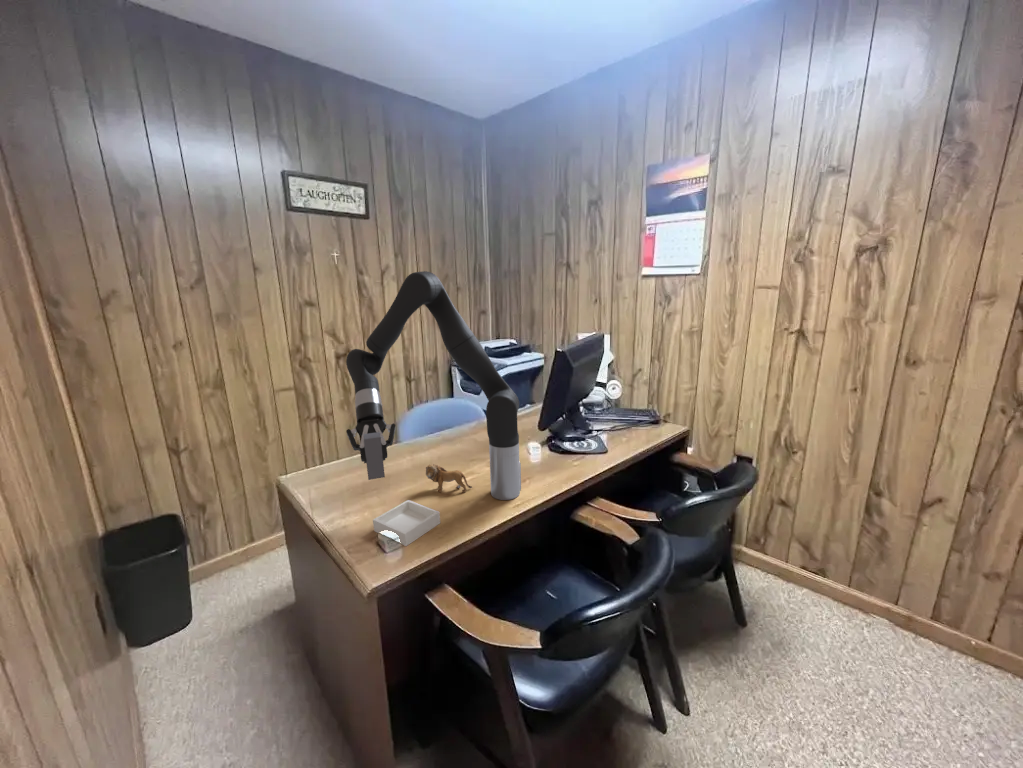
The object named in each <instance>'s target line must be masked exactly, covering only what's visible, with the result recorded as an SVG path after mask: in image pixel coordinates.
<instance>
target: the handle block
mask: <svg viewBox="0 0 1023 768" xmlns="http://www.w3.org/2000/svg"><path fill="white" fill-rule="evenodd" d="M364 446H365V455H366V461H367V462H366V463H365V464H366V471H367V480H368V481H369V480H371V481H372V480H376V479H382V478H385V477H386V476H385V467H384V466H385V465H384V461H383V457H382V445H381V436H380V432H376V433H369V434H364Z"/></svg>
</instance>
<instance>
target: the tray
mask: <svg viewBox="0 0 1023 768" xmlns="http://www.w3.org/2000/svg"><path fill="white" fill-rule="evenodd" d="M440 515H441V512H440V511H439V510H435V509H433V508H431V507H428V506H425V505H423V504H420V503H417V502H415V501H413V500H410V499H407V500H405V501H404V502H402V503H400V504H398V505H397V506H395V507H393V508H391V509H389V510H387V511H386V512H384V513H382V514H380V515H379V516H377V517H375V518H373V519H372V523H373V531H374V532H375V533H378V534H379V532H381V531H384V530H388V531H392V532H394V533H396V534H397V535H398V536H399V539H400V542H401V544H400V545H403V546H404V547H407V546H409V545H410V544H411V543H413V542H415V541H416V540H417V539H419V538H421V537H422V536H423V535H425V534H426V533H428V532H429V531H431V530H432V529H434V528H436V527H437V526H438V525H440V524H441V516H440Z"/></svg>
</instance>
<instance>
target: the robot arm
mask: <svg viewBox="0 0 1023 768" xmlns="http://www.w3.org/2000/svg"><path fill="white" fill-rule="evenodd" d="M423 305H424V306H425V307H426V308H427V309H428V311H429V312H430V313H431V315H432V316H433V318H434V320H435V322H436V324H437V326H438V329H439V332H440V336H441V338H442V343H443V345H444V347H445V349H446V350H447V352H448V353H449V356H451V358H452V360H453V361H454V363H456V364H457V366H458V367H459V369H461V370H462V372H464V373H465V374H466V375H467V376H469V377H470V378H471V379H472V380H474V382H475V383H477V385H478V386H479V387H480V388H481V390H482V393H483V394H484V395H485V397H486V398H487V401H488V402H487V404H486V409H485V410H486V411H485V413H486V417H485V418H486V431H487V432H486V433H487V437H488V446H489V448H488V450H489V477H490V478H489V479H490V481H489V482H490V495H491V496H492V497H493V498H494V499H496V500H500V501H501V500H502V501H509V500H513V499H516V498H518V497H519V495H520V493H521V490H522V476H521V475H522V471H521V470H522V465H521V461H520V434H519V431H518V412H519V408H520V400H519V397H518V396H517V394H516V393H515V391H514V390H513V389H512V388H511V387H510V385H509V384H508V382H506V380H505V379H504V378H503V376H501V374H500V373H499V372H498V370H497V368H496V366H495V365H494V363H493V362H492V360H491V359H490V357H489V355H488V353H487V352H486V350H485V349H484V347H483V345H482V344H481V343H480V341H479V340H478V338H477V337H476V335H475V334H474V332H473V331H472V330H471V328H470V327H469V325H468V324H467V322H466V321H465V319H464V318H463V317H462V315H461V314H460V312H459V311H458V309H456V307H455V305H454V304H453V301H452V300H451V298H450V296H449V295H448V292H447V291H446V288H445V287H444V284H443V283H442V281H441V280H440V279H439V277H438V276H437V275H436V274H435V273H433V272H431V271H426V270H423V271H416V272H412V273H410V274H409V275H407V276H406V278H405V279H404V280H403V283H402V284H401V286H400V288H399V290H398V291H397V294H396V296H395V298H394V300H393V302H392V304H391V306H390V307H389V309H388V311H387V312H386V314H385V315H384V316H383V317H382V319H381V320H380V322H379V323H378V325H377V326H376V327H375V328H374V329H373V330H372V332H371V334H370V335H369V336H368V337H367V339H366V341H365V343H366V347H367V349H368V350H369V351H370V352H369V351H366V350H363V349H359V348H354V349H352V350H350V351H349V352H348V353H347V355H346V358H345V359H346V361H345V362H346V368H347V369H346V370H347V371H348V373H349V376H350V379H351V381H352V382H353V385H354V395H355V397H354V398H355V399H354V405H355V416H356V425H355V428H352V429H351V428H347V429H346V432H345V433H346V436H347V438H348V441H349V442H350V445H351V447H352V449H353V450H354V451H359V452H360V453H359V454H360V460H361V462H363V464H367V463H366V462H367V461H366V455H365V446H364V434H369V433H376V432H380V436H381V445H382V457H383V462H384V461H386V459H388V449H387V448H388V447H390V446H393V443H394V439H395V433H396V424H395V423H392V424H387V422H386V421H385V418H384V417H385V416H384V411H383V410H384V409H383V403H382V402H383V401H382V397H381V393H380V392H381V391H380V386H379V380H378V378H377V376H376V375H377V374H378V373H379V372H380V371H381V369H382V366H383V363H384V361H385V358H386V357H387V354H388V352H389V350H390V349H391V348H392V347H393V345H394V344H395V343H396V342H397V340H398V339H399V337H400V336H401V333H402V331H403V330H404V327H405V325H406V323H407V322H408V320H409V319H410V317H411V316H413V314H414V313H415V312H416V311H417V310H418V309H419V308H420V307H422V306H423ZM386 429H387V432H388V434H389V435H388V439H385V437H384V432H385V430H386ZM356 433H357V434H358V435H359V436H360V437H361V439H360V444H359V443H357V441H356V439H355V437H356Z"/></svg>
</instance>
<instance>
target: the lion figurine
mask: <svg viewBox="0 0 1023 768" xmlns="http://www.w3.org/2000/svg"><path fill="white" fill-rule="evenodd" d="M425 475H426V477H427V479H429V480H431V481H432V482H433V483H437V485H438V486H437V488H438V489H437V492H439V493H441V492H443V489H444V488H443V484H444V482H445V483H450V482H453V481H455V483H456V484H457V485H456V488H458V489H460V488H462V490H461V492H462V493H466V492H467V487H468V488H469V489H473V486H471V485H469V484H468V482H467V479H466V478H467V477H466V476H465V474H464V473H463V472H462V471H460V470H446V469H445V468H444V467H441V466H439V465H438V464H434V463H433V464H432V463H431V464H428V465H427V466H425ZM463 480H464V482H463ZM464 483H465V484H464Z"/></svg>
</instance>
